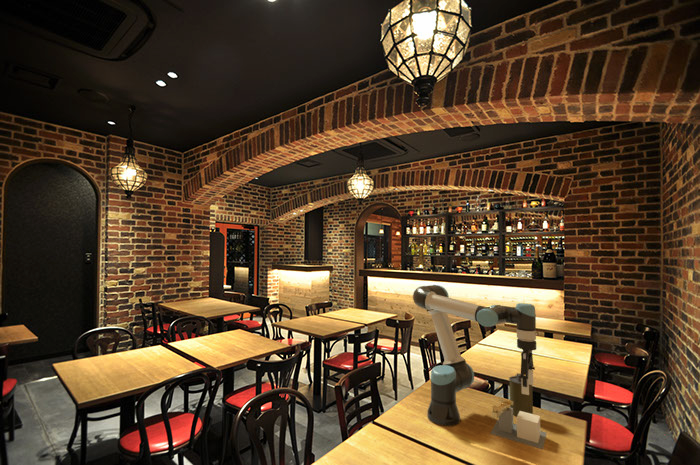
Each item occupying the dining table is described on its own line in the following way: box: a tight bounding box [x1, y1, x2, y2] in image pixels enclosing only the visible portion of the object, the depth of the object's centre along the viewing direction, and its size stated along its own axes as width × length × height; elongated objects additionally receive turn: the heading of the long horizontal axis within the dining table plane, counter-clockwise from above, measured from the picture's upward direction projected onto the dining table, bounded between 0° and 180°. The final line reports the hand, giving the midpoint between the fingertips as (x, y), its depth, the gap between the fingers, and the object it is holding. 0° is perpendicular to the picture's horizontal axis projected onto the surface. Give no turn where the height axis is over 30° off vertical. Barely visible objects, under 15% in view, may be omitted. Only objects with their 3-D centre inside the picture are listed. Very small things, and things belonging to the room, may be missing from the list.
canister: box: [508, 373, 534, 418], centre depth 164 cm, size 11×10×20 cm
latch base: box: [490, 408, 548, 450], centre depth 146 cm, size 20×16×10 cm
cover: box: [516, 411, 541, 443], centre depth 144 cm, size 8×8×8 cm
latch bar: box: [491, 396, 513, 419], centre depth 145 cm, size 15×6×4 cm, turn 135°
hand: (527, 389), depth 145 cm, fingers open, 13 cm apart
